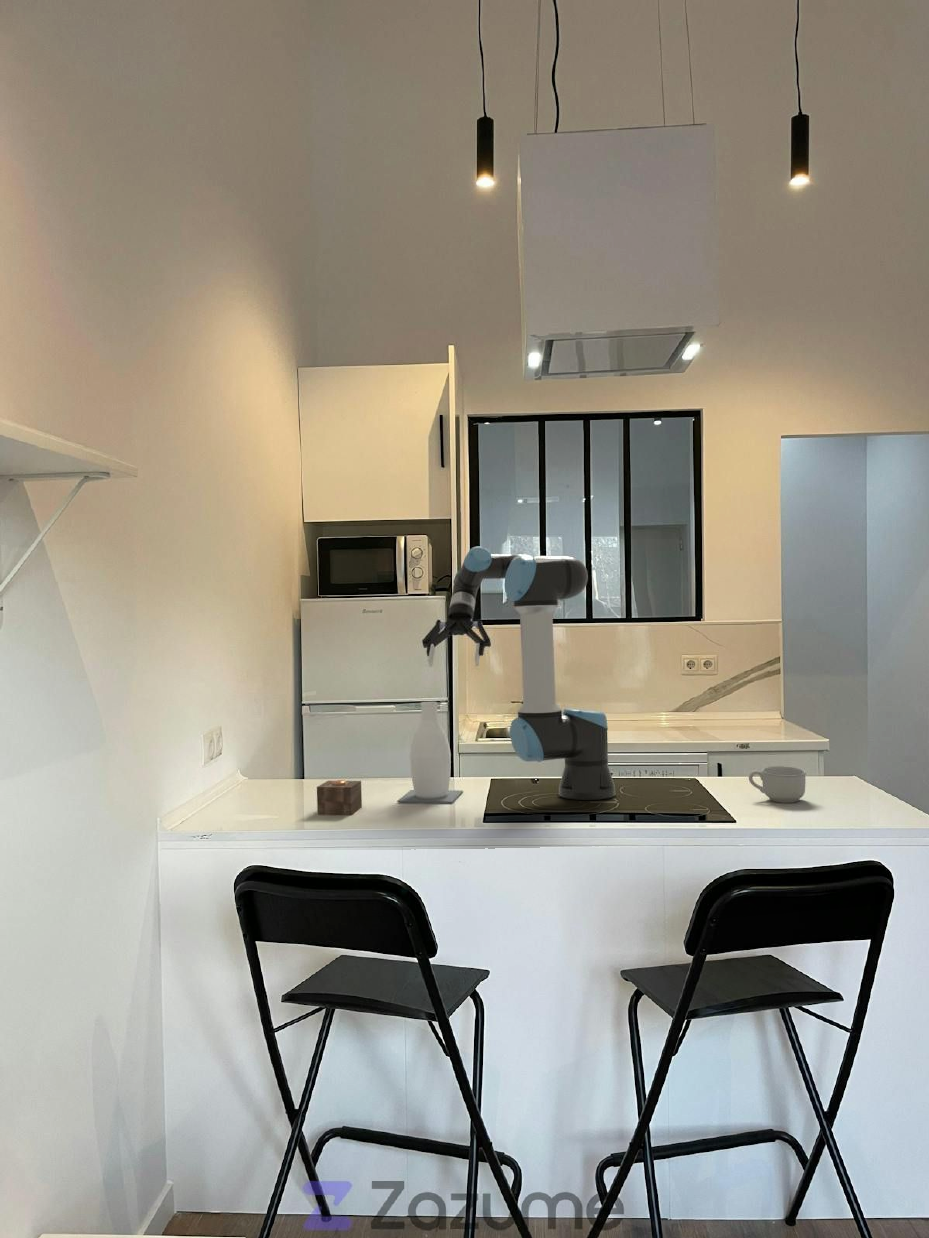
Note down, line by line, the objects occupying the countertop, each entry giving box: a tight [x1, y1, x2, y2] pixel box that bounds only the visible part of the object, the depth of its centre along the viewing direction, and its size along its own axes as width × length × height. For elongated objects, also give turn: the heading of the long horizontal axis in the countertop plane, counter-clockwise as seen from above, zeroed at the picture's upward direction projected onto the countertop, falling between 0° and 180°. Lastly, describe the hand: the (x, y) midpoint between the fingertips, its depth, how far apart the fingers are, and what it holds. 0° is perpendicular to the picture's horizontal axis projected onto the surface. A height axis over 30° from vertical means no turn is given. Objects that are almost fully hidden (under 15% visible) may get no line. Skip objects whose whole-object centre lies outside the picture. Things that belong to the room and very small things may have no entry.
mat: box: [396, 789, 464, 805], centre depth 261 cm, size 15×15×1 cm
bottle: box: [409, 701, 452, 799], centre depth 261 cm, size 11×11×25 cm
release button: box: [328, 779, 350, 786], centre depth 247 cm, size 4×4×6 cm
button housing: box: [316, 780, 363, 816], centre depth 247 cm, size 9×9×7 cm
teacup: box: [748, 765, 807, 804], centre depth 246 cm, size 14×11×8 cm
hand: (453, 663), depth 275 cm, fingers open, 13 cm apart
